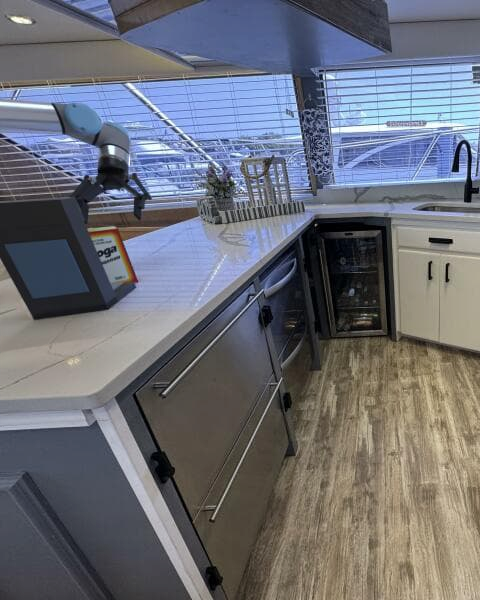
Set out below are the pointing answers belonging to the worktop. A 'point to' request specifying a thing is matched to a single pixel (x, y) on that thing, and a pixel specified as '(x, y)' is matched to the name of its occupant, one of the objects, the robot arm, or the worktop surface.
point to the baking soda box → (113, 254)
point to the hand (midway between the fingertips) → (110, 219)
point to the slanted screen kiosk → (54, 259)
